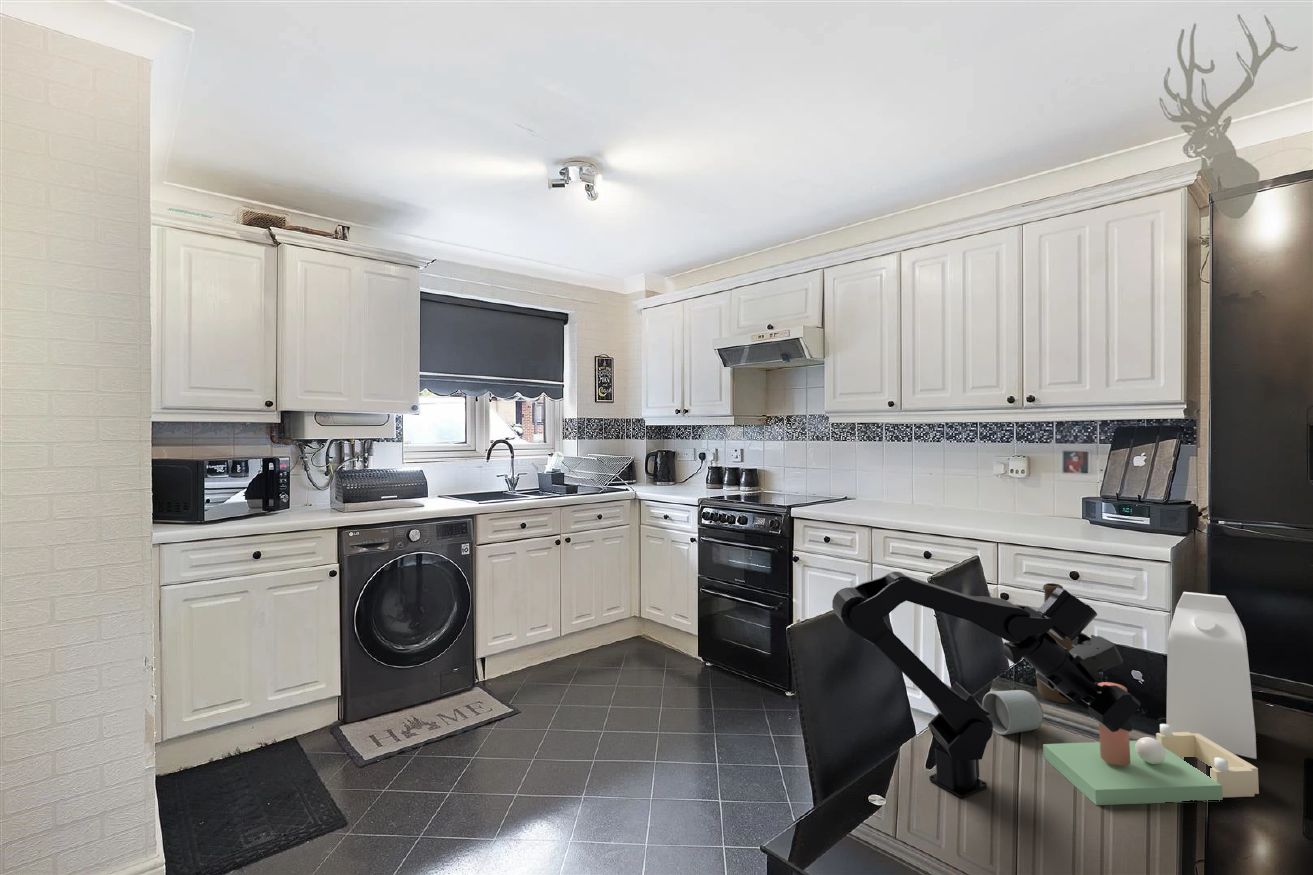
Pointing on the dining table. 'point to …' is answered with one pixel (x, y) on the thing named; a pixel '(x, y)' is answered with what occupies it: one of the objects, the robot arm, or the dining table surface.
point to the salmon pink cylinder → (1114, 741)
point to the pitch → (1130, 776)
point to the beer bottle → (1066, 643)
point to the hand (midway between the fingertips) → (1122, 722)
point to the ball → (1150, 750)
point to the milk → (1210, 674)
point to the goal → (1213, 761)
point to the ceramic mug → (1013, 711)
